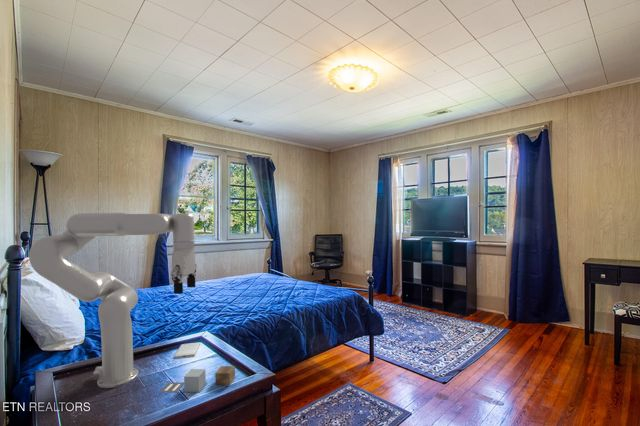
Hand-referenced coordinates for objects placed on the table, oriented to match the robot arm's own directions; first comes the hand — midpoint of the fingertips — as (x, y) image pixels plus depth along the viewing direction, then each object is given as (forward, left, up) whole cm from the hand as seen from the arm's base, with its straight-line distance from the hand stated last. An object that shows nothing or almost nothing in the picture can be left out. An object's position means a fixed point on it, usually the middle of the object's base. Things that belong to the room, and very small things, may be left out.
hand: (185, 290), depth 121 cm
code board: (+6, -14, -30) cm, 34 cm away
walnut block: (+19, -10, -30) cm, 37 cm away
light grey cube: (+10, -14, -30) cm, 34 cm away
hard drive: (-8, +16, -31) cm, 36 cm away
